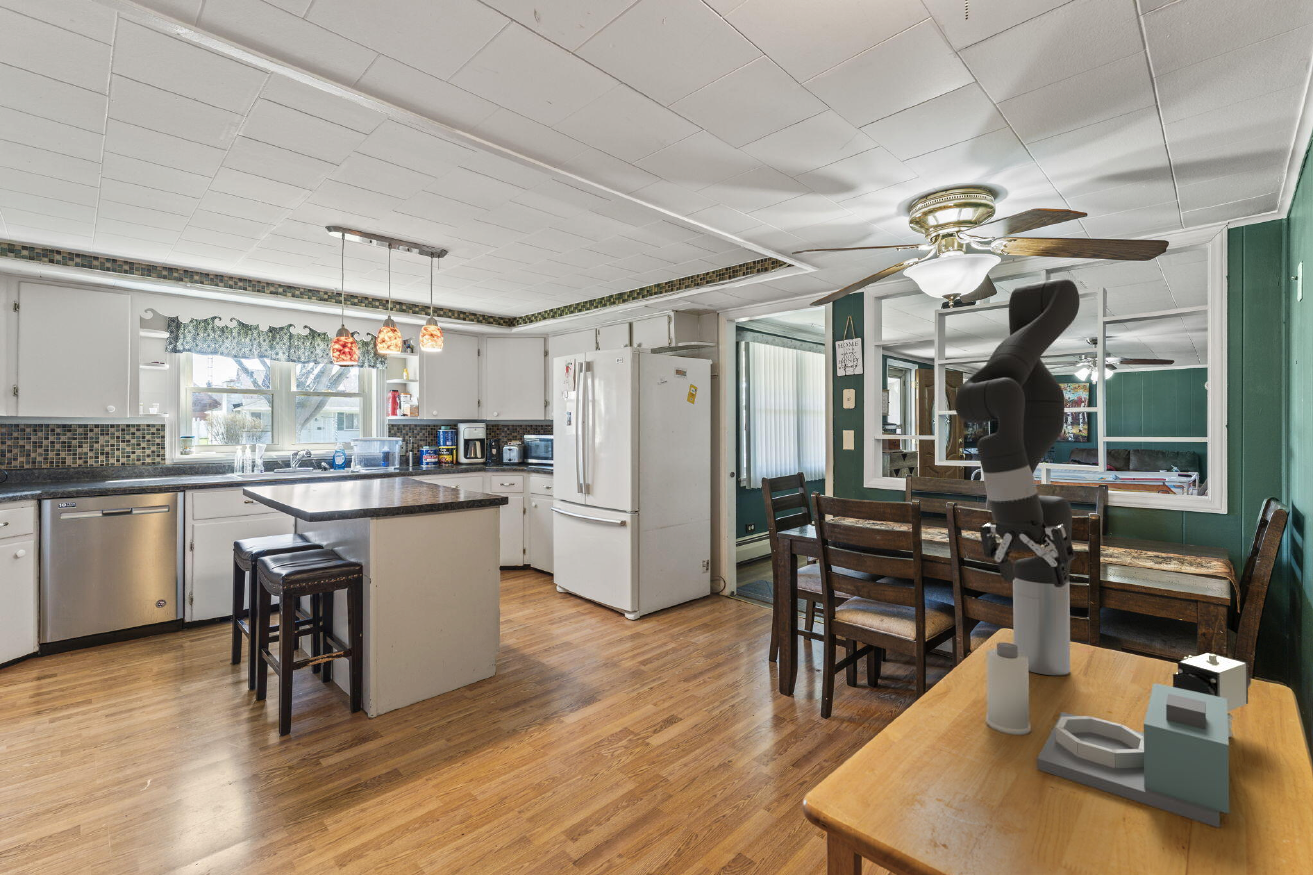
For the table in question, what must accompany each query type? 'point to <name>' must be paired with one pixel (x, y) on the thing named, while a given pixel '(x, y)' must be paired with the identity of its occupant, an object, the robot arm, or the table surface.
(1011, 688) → the bottle
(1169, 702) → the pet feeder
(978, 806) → the table surface
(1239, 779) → the table surface
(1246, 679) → the pneumatic valve
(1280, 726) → the table surface
